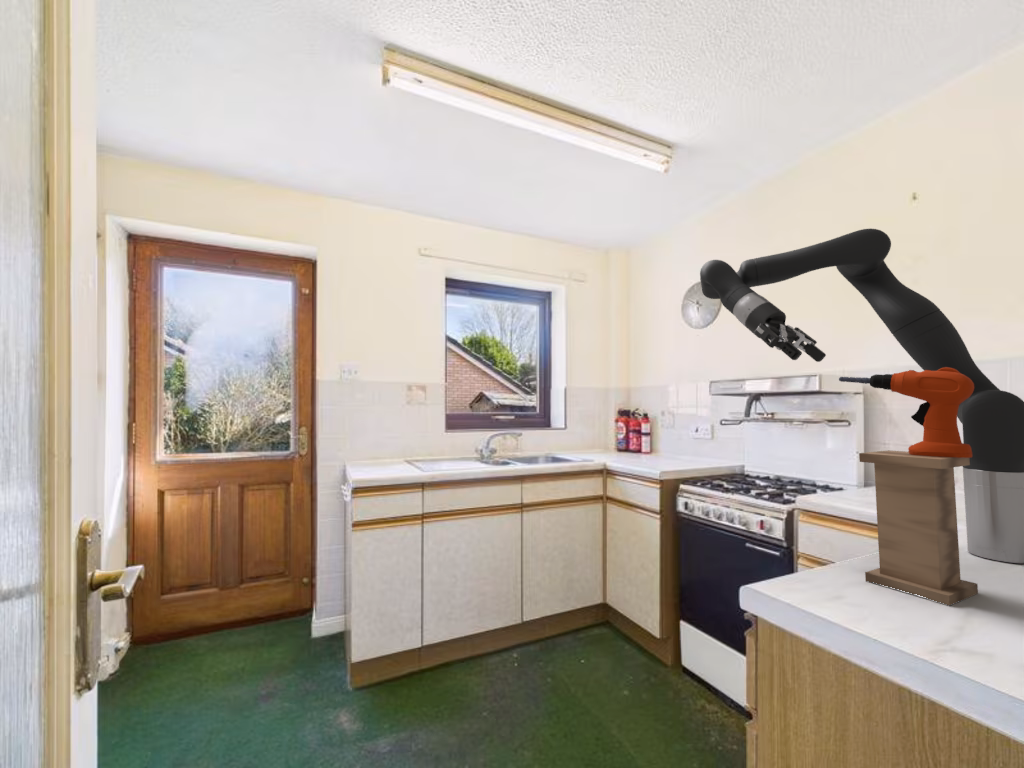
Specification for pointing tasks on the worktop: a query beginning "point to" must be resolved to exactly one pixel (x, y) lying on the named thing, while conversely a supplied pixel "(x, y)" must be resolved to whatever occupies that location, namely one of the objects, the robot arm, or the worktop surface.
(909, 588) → the walnut stand
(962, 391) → the toy drill
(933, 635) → the worktop surface
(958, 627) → the worktop surface
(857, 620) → the worktop surface
